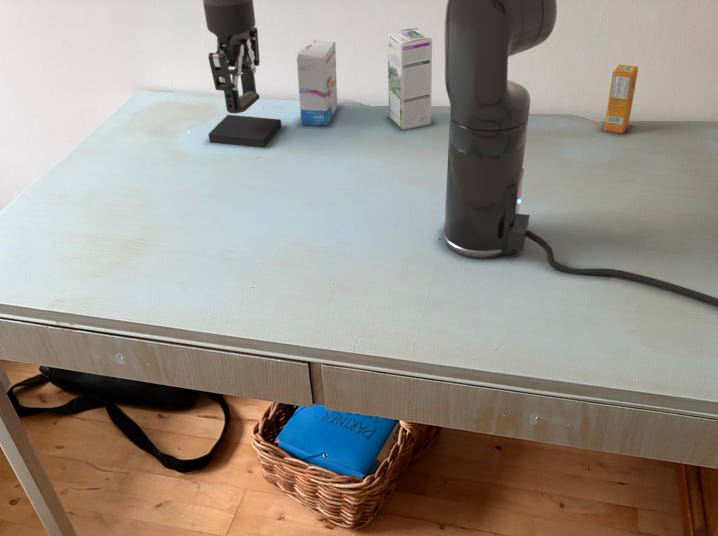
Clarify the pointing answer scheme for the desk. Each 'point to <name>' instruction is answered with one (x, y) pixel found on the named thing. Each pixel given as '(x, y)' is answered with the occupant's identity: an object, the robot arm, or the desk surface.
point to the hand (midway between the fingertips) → (242, 103)
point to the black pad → (245, 131)
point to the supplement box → (620, 98)
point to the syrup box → (409, 78)
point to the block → (248, 100)
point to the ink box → (317, 82)
